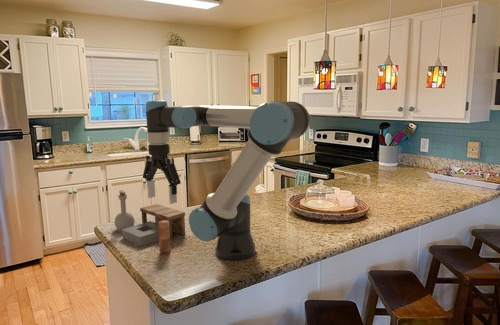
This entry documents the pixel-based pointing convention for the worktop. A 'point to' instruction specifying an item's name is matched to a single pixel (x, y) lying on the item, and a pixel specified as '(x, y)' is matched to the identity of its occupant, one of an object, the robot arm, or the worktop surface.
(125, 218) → the potion bottle
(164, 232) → the peg
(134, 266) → the worktop surface
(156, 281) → the worktop surface
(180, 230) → the wooden bench
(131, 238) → the socket block
